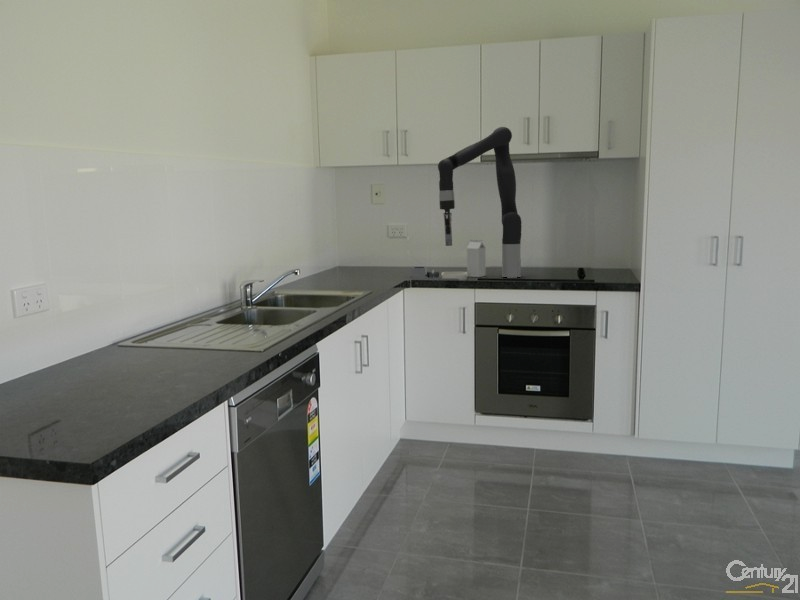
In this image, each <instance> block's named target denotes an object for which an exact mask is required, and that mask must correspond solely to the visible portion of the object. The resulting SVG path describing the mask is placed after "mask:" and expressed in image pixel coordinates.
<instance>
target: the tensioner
mask: <svg viewBox="0 0 800 600" xmlns="http://www.w3.org/2000/svg"><path fill="white" fill-rule="evenodd" d="M427 269H428V268H427V266H412V268H411V279H439V278H441V274H440V271H436V270H434V269H433V270H432V269H431V270H430V271H427Z"/></svg>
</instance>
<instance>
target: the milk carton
mask: <svg viewBox="0 0 800 600" xmlns="http://www.w3.org/2000/svg"><path fill="white" fill-rule="evenodd" d="M466 272H467V278H468V277H469V278H481V277H485V276H486V246H485V244H484V243H483V240H482V239H470V240H469V243H468V244H467V246H466Z"/></svg>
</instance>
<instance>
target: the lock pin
mask: <svg viewBox="0 0 800 600" xmlns="http://www.w3.org/2000/svg"><path fill="white" fill-rule="evenodd" d="M443 222H444V221H443ZM446 223H449V222H446ZM444 224H445V222H444ZM450 225H451V226H450V234H446V227H445V226H444V241H445V246H446V247H450V246H451V247H452V246H453V231H452V221H451V222H450Z"/></svg>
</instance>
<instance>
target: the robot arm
mask: <svg viewBox="0 0 800 600" xmlns="http://www.w3.org/2000/svg"><path fill="white" fill-rule="evenodd" d="M512 133H513V132H512V131H511V129H510V128H508V127H506V126H500V127H498V128H496V129H495V130H494V131H493V132H492V133H491V134H490V135H488V136H486V137H484V138H483V139H481V140H479V141H477V142H475V143H473V144H471V145H468V146H466V147H464V148H462V149H461V150H458V151H457V152H455V153H454V154H452V155H450V156H447V157H445V158H444V159H442V160H440V161H439V162H438V164H437V169H438V171H439V172H438V173H439V182H438V185H439V187H438V188H439V192H438V193H439V194H438V195H439V196H438V199H439V210H444V212H443V213H442V214H443V222H445V223H444V228H445V227H446V234H450V226H451V227H452V224H451V225H450V222H451V223H452V221H453V220H452V215H453V214H452V213H453V212H451V210H454V209H455V207H456V206H455V205H456V203H455V193H454V192H455V191H454V180H453V177H454V170H456V169H458V168H459V167H462V166H464V165H465V164H468V163H470V162H472V161H474V160H475V159H477V158H479V157H480V156H482V155H484V154H485V153H488V152H490V151H491V150H494V151H493V152H494V156H495V172H496V173H495V174H496V183H497V189H498V194H499V195H498V196H499V200H500V204H501V205H500V206H501V207H500V208H501V224H502V239H501V244H502V245H501V249H502V250H501V253H502V255H501V257H502V262H501V270H502V271H501V272H502V273H501V277H502V278H503V277H507V278H506V279H518V278H517V277H522V276H521V274H522V273H521V272H522V271H521V270H522V269H521V268H522V264H521V261H522V259H521V244H522V243H521V241H522V218H521V216H520V215H519V214H518V208H517V204H516V203H517V202H516V199H517V197H516V196H517V195H516V194H517V179H516V172H515V167H514V165H513V161H512V159H511V154H510V142H512V137H513V134H512ZM446 222H449V223H446Z"/></svg>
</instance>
